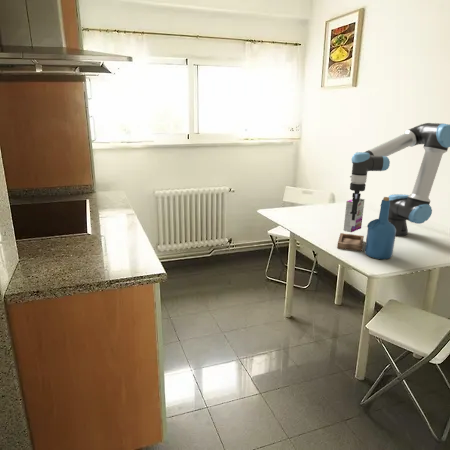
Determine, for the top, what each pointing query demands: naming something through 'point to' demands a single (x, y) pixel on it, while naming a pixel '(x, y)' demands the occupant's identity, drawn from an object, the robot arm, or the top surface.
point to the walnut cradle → (350, 242)
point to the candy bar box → (358, 216)
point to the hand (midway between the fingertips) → (352, 222)
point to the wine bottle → (381, 234)
